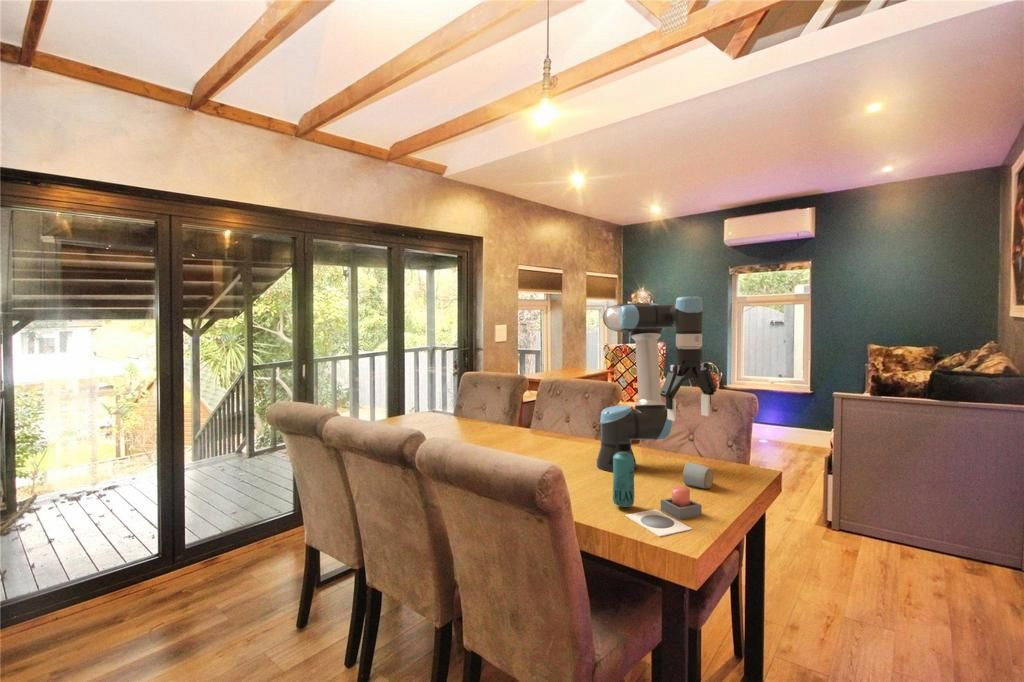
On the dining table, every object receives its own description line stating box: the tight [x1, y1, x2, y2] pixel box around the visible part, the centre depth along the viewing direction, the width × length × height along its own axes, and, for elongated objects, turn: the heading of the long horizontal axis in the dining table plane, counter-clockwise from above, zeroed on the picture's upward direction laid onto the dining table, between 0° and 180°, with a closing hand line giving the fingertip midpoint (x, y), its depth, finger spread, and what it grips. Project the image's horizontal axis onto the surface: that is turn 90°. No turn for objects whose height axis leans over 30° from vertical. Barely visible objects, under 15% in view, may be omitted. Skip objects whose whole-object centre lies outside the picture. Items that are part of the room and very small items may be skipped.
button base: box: [660, 497, 703, 521], centre depth 140 cm, size 8×8×3 cm
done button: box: [671, 485, 691, 507], centre depth 140 cm, size 5×5×5 cm
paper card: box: [624, 508, 693, 538], centre depth 133 cm, size 15×11×1 cm
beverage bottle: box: [612, 441, 635, 508], centre depth 144 cm, size 6×7×20 cm
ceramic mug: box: [682, 461, 714, 490], centre depth 163 cm, size 11×8×8 cm
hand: (688, 417), depth 144 cm, fingers open, 13 cm apart
